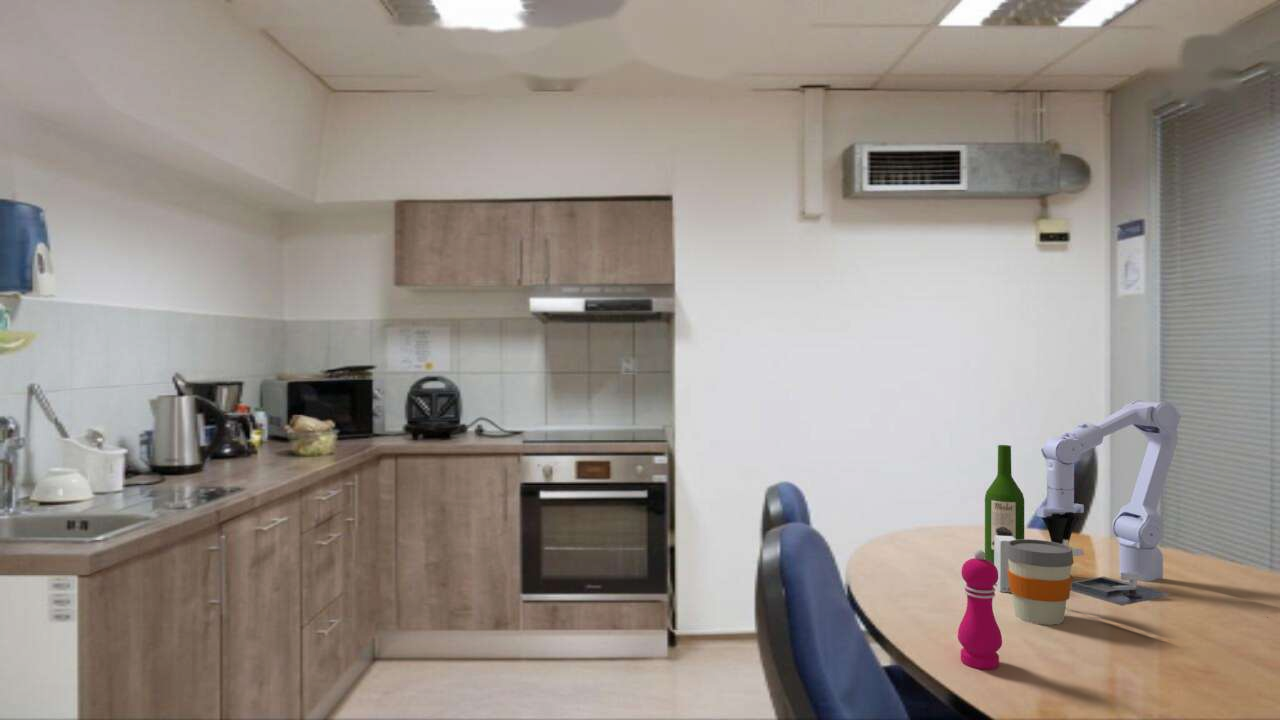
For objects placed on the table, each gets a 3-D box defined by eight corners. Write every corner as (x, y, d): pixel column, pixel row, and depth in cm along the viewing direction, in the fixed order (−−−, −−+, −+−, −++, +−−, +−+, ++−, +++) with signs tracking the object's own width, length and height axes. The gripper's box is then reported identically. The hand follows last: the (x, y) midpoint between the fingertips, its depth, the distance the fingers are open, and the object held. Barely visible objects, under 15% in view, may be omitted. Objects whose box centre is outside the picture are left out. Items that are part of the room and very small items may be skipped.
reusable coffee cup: (1047, 632, 151) (1047, 556, 151) (992, 613, 162) (992, 542, 162) (1087, 622, 157) (1087, 549, 157) (1031, 604, 168) (1031, 536, 168)
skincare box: (1019, 593, 176) (1020, 541, 176) (1000, 592, 177) (1000, 540, 177) (1012, 585, 182) (1012, 535, 182) (993, 584, 183) (993, 534, 183)
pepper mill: (950, 655, 139) (950, 545, 139) (988, 654, 139) (988, 544, 139) (970, 671, 132) (970, 555, 132) (1010, 670, 132) (1010, 554, 132)
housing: (1103, 581, 186) (1103, 573, 186) (1173, 600, 171) (1173, 591, 171) (1053, 590, 178) (1053, 582, 178) (1121, 610, 164) (1121, 601, 164)
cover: (1060, 550, 188) (1059, 535, 188) (1083, 554, 182) (1083, 539, 183) (1038, 553, 184) (1037, 538, 185) (1061, 558, 179) (1060, 542, 179)
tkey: (1111, 593, 171) (1111, 572, 171) (1140, 592, 172) (1140, 571, 172) (1116, 595, 169) (1116, 574, 169) (1145, 594, 170) (1145, 573, 170)
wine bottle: (985, 578, 188) (985, 446, 188) (984, 569, 196) (984, 443, 196) (1026, 582, 185) (1026, 448, 185) (1022, 573, 193) (1022, 444, 193)
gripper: (1064, 483, 190) (1064, 538, 190) (1024, 487, 184) (1024, 543, 184) (1092, 488, 184) (1091, 544, 184) (1051, 492, 178) (1051, 550, 178)
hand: (1060, 544), depth 184 cm, fingers closed on cover, 2 cm apart
